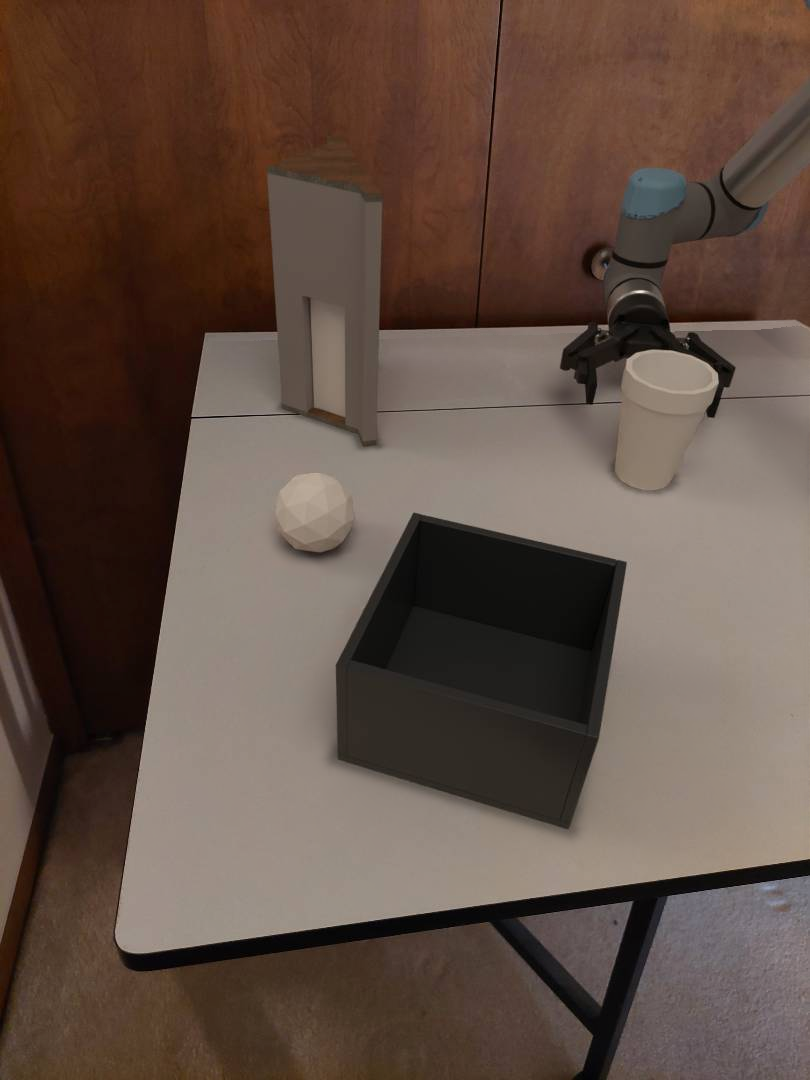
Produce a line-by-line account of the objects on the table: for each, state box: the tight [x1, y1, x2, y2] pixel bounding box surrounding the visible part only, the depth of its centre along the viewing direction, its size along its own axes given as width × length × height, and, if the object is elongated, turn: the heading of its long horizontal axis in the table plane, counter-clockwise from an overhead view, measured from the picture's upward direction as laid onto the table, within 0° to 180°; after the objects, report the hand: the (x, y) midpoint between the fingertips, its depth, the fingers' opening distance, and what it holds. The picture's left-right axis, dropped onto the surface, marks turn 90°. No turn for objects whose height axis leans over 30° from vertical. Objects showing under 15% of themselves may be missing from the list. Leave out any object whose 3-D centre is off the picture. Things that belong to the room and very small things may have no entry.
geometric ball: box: [273, 472, 356, 553], centre depth 77 cm, size 8×8×8 cm
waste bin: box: [335, 512, 628, 830], centre depth 62 cm, size 18×18×11 cm
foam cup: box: [614, 350, 719, 491], centre depth 87 cm, size 10×9×13 cm
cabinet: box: [266, 135, 383, 447], centre depth 91 cm, size 21×10×28 cm, turn 14°
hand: (652, 400), depth 90 cm, fingers open, 13 cm apart
